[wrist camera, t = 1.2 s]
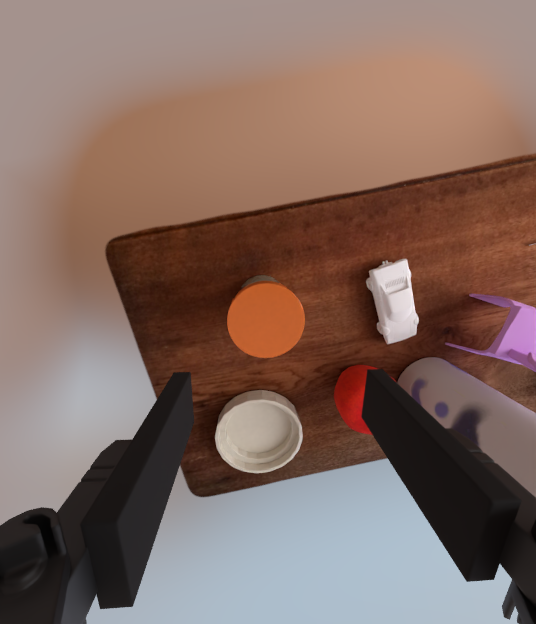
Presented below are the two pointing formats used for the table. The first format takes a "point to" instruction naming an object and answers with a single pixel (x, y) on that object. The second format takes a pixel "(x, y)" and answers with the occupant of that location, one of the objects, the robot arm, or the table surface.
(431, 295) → the table surface
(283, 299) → the lid
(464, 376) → the container
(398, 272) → the toy car
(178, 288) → the table surface
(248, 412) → the dish
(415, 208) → the table surface
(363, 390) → the apple
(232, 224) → the table surface
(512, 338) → the toy chair
